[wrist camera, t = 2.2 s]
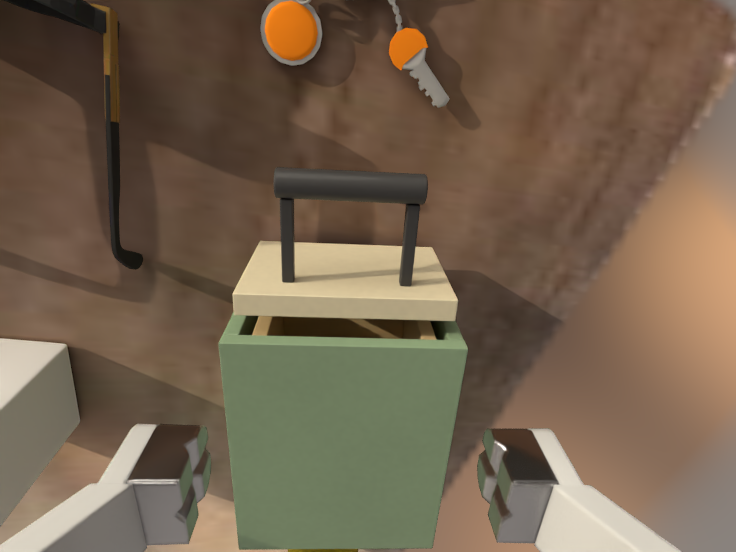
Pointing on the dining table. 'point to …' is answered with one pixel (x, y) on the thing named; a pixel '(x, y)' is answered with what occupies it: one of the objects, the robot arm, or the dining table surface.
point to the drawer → (346, 267)
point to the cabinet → (339, 436)
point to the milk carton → (32, 413)
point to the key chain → (304, 33)
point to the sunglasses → (70, 6)
